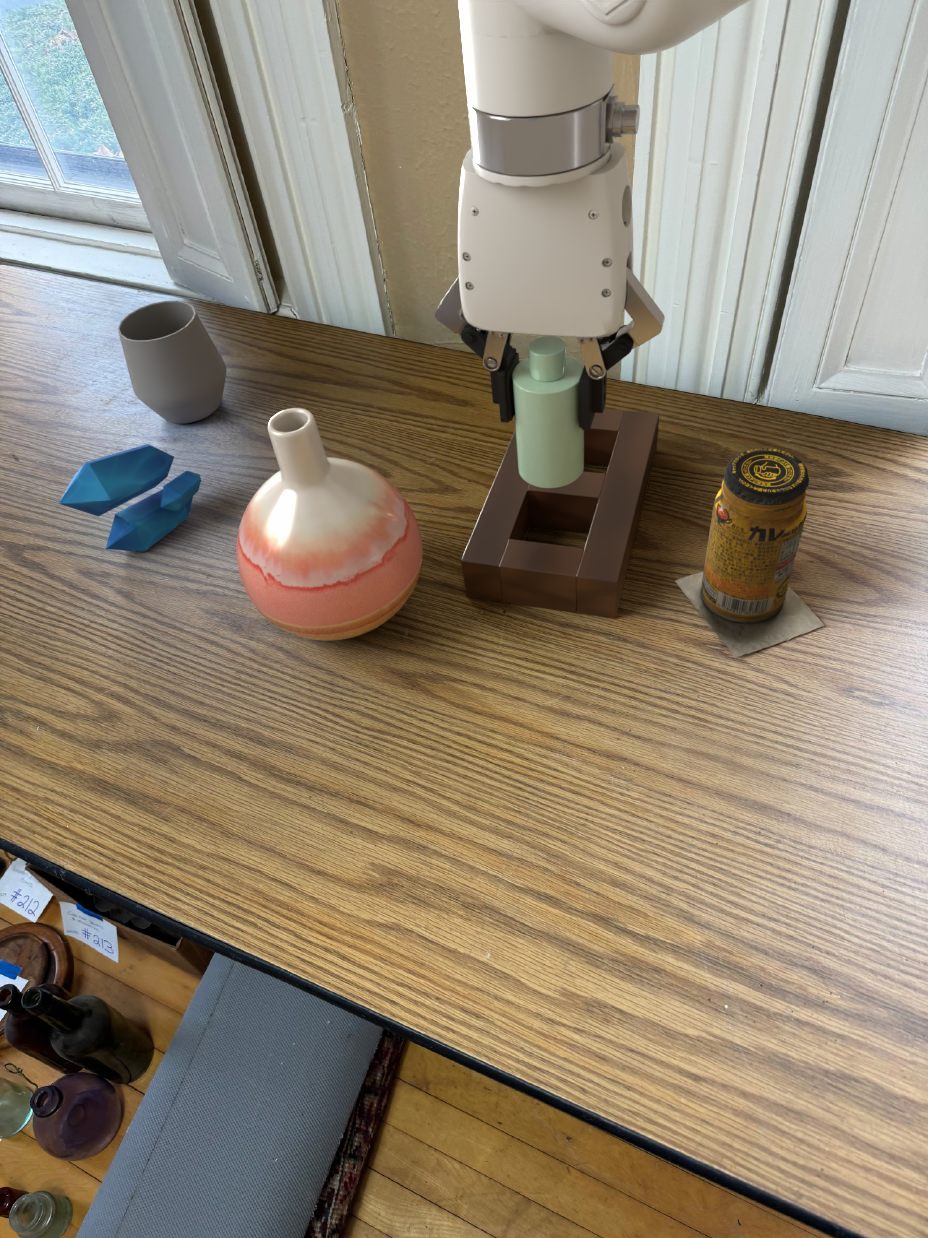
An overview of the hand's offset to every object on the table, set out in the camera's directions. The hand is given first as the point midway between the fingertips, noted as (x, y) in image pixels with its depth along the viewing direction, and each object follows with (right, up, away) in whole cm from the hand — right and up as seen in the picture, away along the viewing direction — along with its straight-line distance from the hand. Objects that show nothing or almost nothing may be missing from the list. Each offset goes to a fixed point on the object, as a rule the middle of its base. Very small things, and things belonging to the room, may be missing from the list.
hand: (549, 412), depth 59 cm
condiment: (+15, -13, +5) cm, 21 cm away
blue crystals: (-34, -7, +18) cm, 39 cm away
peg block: (+3, -6, +13) cm, 14 cm away
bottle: (0, -3, +4) cm, 5 cm away
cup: (-34, +8, +30) cm, 46 cm away
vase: (-15, -13, +9) cm, 22 cm away
